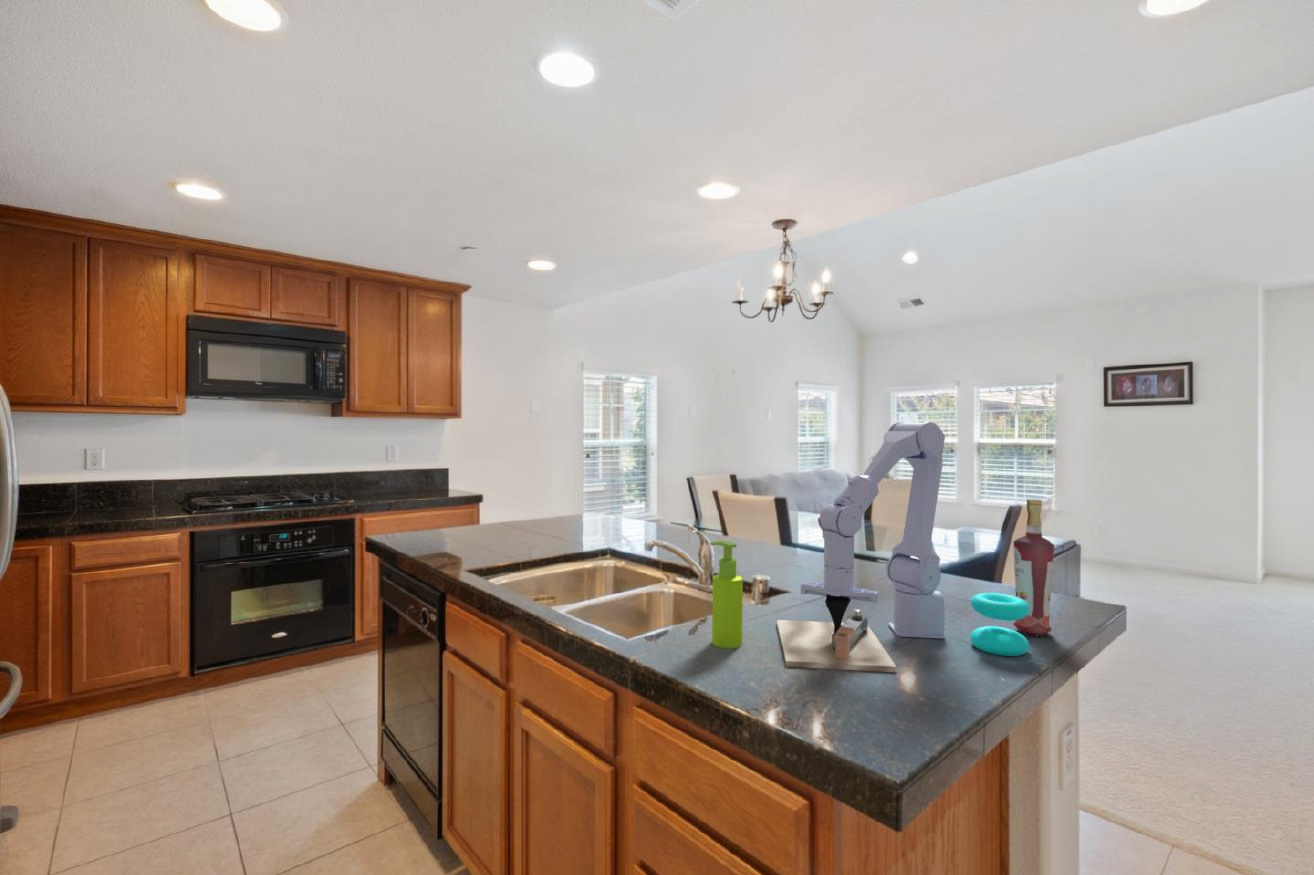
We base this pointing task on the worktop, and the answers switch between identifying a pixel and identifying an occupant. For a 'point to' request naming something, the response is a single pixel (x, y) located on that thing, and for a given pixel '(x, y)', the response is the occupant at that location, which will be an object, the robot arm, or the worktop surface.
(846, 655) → the block
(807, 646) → the hinge board
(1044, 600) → the liquor
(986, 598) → the donuts
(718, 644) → the soap dispenser
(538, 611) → the worktop surface
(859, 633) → the link
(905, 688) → the worktop surface
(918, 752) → the worktop surface
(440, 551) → the worktop surface
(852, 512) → the robot arm
